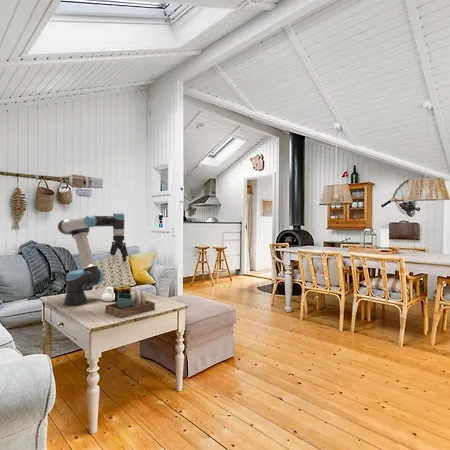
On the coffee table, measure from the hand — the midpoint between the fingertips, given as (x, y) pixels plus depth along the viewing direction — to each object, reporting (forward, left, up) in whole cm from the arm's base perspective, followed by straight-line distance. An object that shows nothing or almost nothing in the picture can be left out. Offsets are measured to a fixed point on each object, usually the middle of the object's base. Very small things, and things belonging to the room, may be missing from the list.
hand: (118, 265), depth 230 cm
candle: (-11, +9, -29) cm, 32 cm away
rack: (+18, -2, -29) cm, 34 cm away
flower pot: (+17, -7, -27) cm, 32 cm away
